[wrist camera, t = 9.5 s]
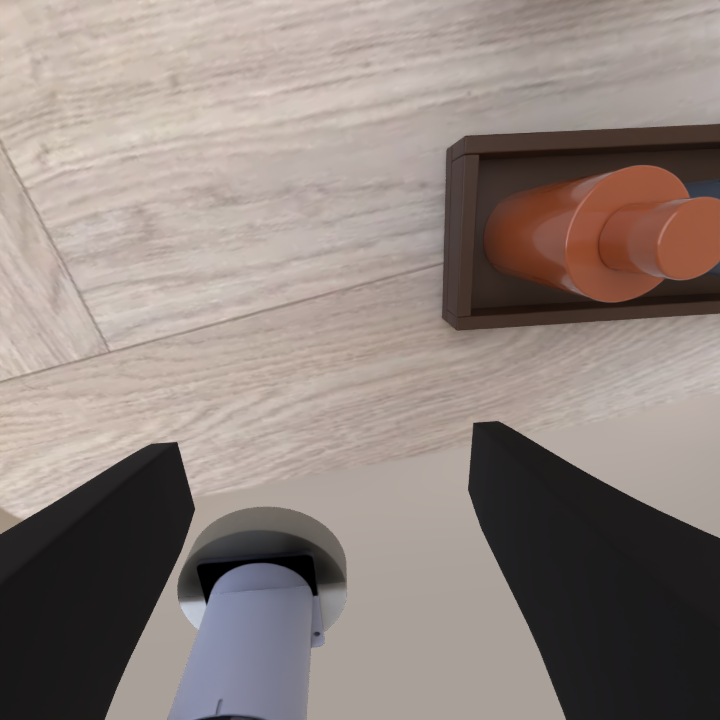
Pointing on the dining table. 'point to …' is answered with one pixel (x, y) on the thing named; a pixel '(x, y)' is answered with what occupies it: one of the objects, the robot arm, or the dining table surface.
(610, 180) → the terracotta bottle
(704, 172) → the tray
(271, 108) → the dining table surface
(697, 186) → the grey bottle mid
